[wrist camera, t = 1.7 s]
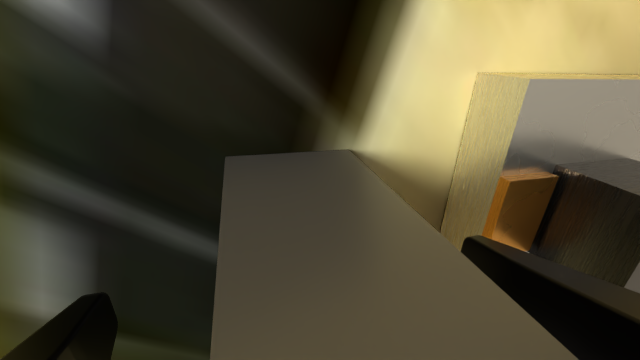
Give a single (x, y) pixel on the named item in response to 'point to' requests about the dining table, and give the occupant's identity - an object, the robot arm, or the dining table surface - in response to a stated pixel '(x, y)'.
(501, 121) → the grey board with hole
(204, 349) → the dining table surface
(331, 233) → the plug
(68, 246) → the dining table surface
